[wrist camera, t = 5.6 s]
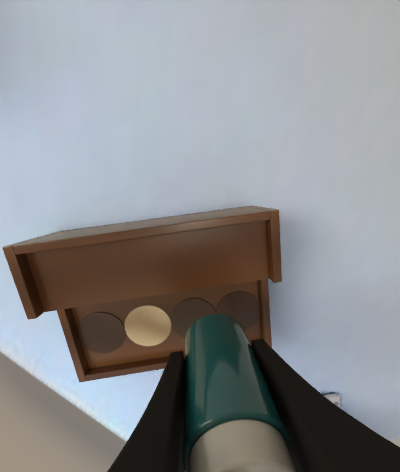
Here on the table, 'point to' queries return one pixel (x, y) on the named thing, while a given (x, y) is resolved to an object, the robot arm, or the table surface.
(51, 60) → the table surface
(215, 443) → the cylinder
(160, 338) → the spice shelf
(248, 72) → the table surface
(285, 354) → the table surface
